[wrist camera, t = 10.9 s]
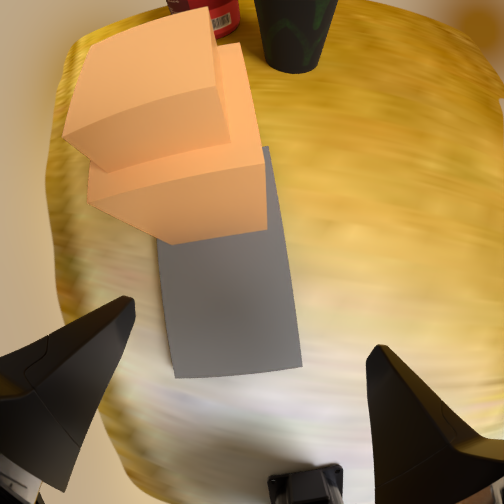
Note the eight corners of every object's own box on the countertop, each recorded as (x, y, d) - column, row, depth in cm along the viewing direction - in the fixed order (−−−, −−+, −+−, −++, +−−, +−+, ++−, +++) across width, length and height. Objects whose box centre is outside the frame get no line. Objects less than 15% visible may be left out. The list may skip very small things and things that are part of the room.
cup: (266, 33, 23) (262, -50, 11) (332, 47, 22) (349, -37, 11) (244, 72, 22) (231, -28, 10) (321, 88, 22) (342, -14, 10)
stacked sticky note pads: (267, 229, 18) (262, 107, 6) (171, 245, 19) (35, 176, 6) (252, 143, 19) (232, -8, 7) (166, 160, 20) (77, 43, 7)
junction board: (300, 361, 18) (308, 380, 14) (181, 372, 19) (159, 391, 14) (268, 155, 21) (267, 124, 16) (161, 174, 21) (138, 150, 17)
